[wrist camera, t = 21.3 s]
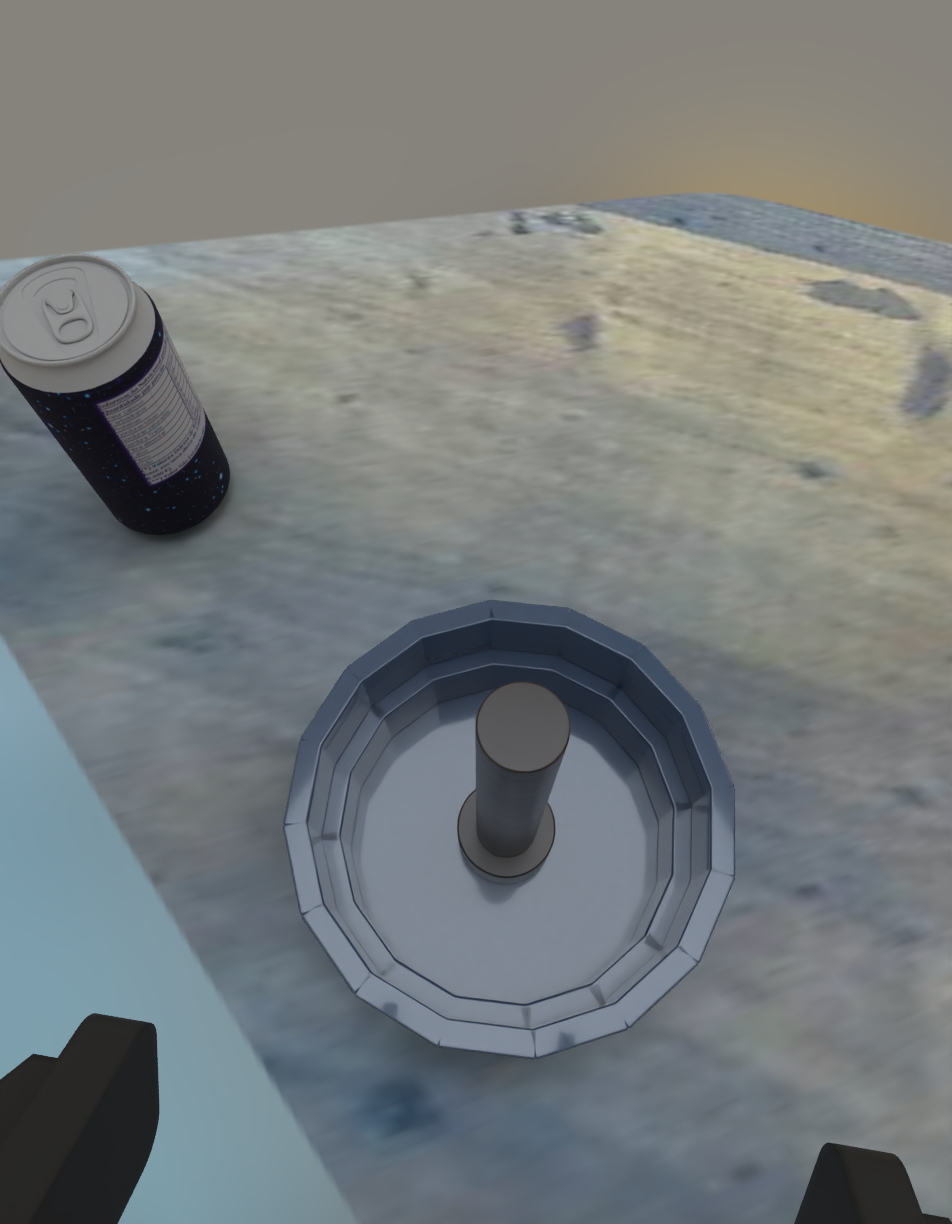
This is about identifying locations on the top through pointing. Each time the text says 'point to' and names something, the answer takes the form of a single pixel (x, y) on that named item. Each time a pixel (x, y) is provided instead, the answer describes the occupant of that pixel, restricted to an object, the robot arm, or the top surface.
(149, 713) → the top surface
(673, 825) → the bowl
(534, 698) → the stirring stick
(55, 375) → the beverage can
